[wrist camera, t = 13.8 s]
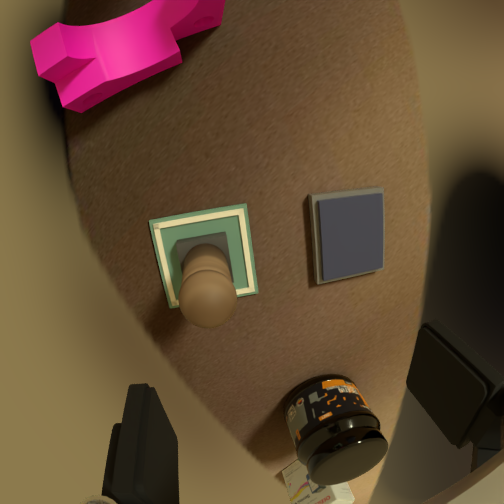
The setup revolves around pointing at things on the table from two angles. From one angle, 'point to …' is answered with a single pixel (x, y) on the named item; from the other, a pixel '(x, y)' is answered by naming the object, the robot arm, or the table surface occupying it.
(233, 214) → the mat
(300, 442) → the supplement container
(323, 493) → the ink box
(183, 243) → the stamp
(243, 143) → the table surface
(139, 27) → the toy block
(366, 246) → the ink pad
